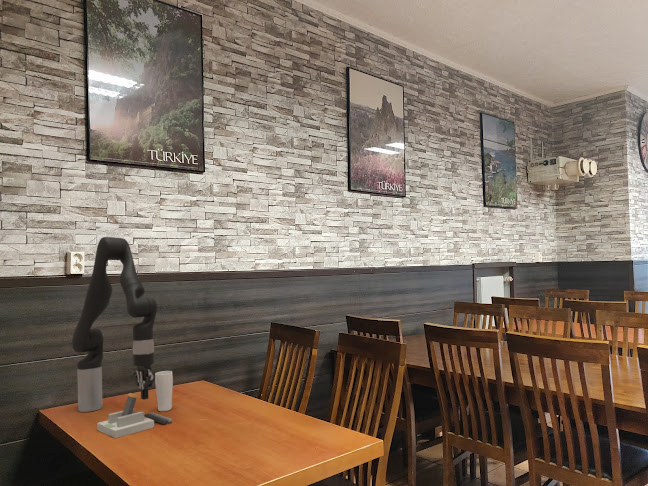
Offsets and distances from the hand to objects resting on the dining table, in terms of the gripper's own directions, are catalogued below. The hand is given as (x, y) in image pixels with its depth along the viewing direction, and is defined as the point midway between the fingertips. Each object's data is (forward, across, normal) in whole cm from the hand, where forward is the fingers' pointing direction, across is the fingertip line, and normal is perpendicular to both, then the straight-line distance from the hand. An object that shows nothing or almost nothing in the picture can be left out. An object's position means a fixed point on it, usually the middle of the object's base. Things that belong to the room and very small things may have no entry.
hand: (144, 398), depth 182 cm
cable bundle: (+9, 0, +5) cm, 10 cm away
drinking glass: (+9, -11, +14) cm, 20 cm away
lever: (+5, 0, -7) cm, 9 cm away
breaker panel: (+9, 0, -7) cm, 12 cm away
